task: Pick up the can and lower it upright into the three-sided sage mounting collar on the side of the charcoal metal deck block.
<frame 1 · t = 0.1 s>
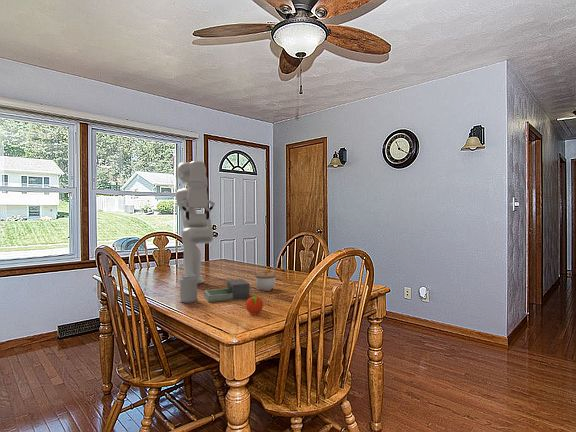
hand: (197, 219, 183), 37 cm above the table, tool pointing down, fingers open, 9 cm apart
can: (188, 301, 165), on the table
tomato: (254, 314, 144), on the table
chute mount: (219, 298, 170), on the table
lidded jar: (265, 289, 188), on the table
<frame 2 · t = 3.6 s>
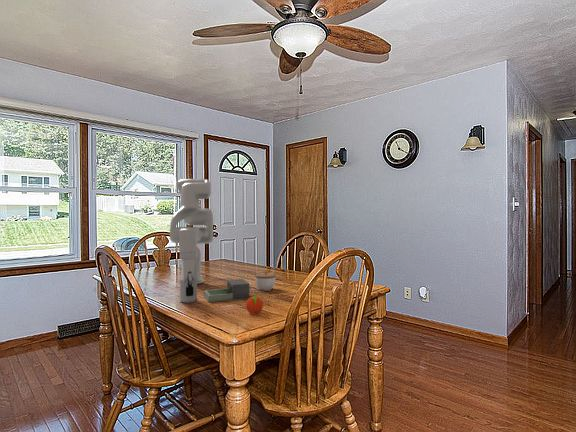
hand: (188, 293, 165), 3 cm above the table, tool pointing down, fingers closed on can, 7 cm apart
can: (188, 301, 165), on the table, touching gripper
everything else where it was.
when the fingers open (6 cm above the table, at t = 10.2 s): can drops 2 cm, resting on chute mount.
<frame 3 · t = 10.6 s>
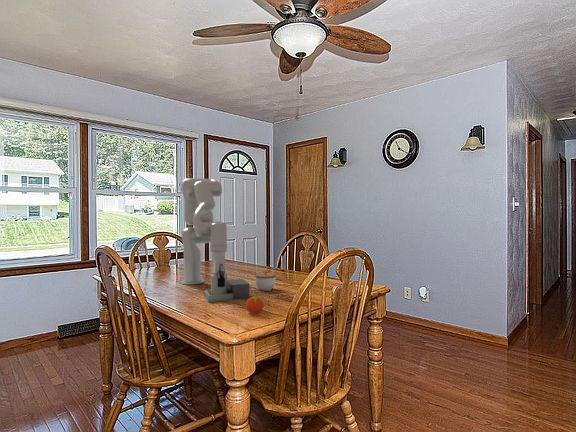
hand: (219, 284, 170), 6 cm above the table, tool pointing down, fingers open, 9 cm apart
can: (219, 297, 170), resting on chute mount
everything else where it was.
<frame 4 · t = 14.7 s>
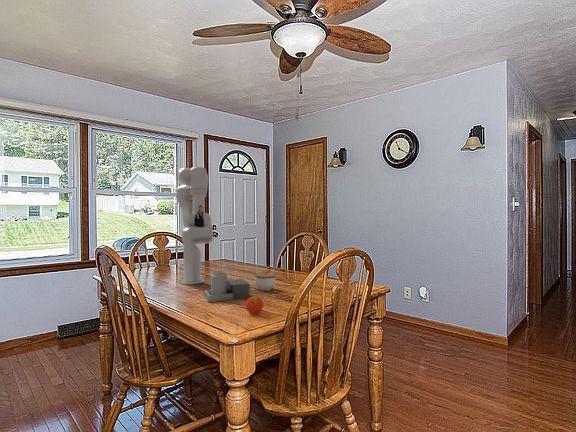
hand: (199, 226, 180), 33 cm above the table, tool pointing down, fingers open, 9 cm apart
nothing on the table moved.
at the end: can 0.2 cm off-centre on the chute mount, point 0.3 cm above the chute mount's base; can tilted 0°; the gripper is holding nothing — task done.
